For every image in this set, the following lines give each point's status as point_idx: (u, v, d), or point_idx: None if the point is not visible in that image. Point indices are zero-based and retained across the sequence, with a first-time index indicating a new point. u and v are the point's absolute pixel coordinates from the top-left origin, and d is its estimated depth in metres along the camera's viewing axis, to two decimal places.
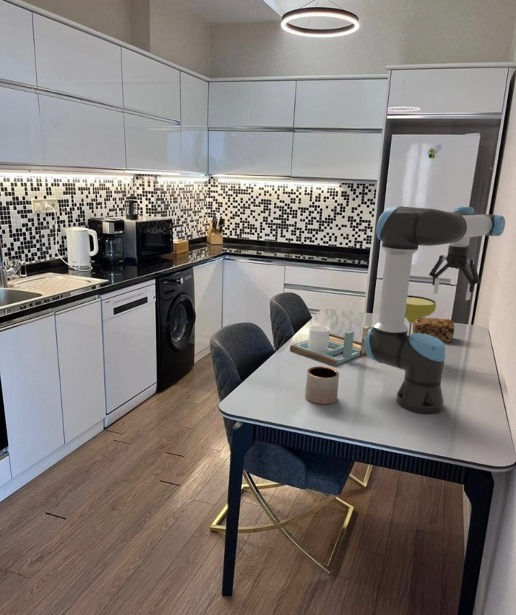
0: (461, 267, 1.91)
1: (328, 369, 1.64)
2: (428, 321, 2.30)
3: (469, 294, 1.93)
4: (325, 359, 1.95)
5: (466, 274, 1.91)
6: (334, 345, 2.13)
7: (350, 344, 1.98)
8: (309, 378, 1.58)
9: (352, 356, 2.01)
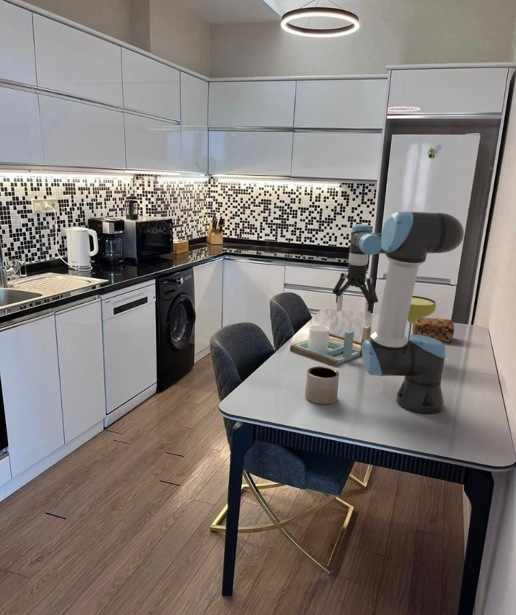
0: (359, 286, 1.88)
1: (328, 369, 1.64)
2: (428, 321, 2.30)
3: (368, 313, 1.89)
4: (325, 359, 1.95)
5: (364, 293, 1.88)
6: (334, 345, 2.13)
7: (350, 344, 1.98)
8: (309, 378, 1.58)
9: (352, 356, 2.01)
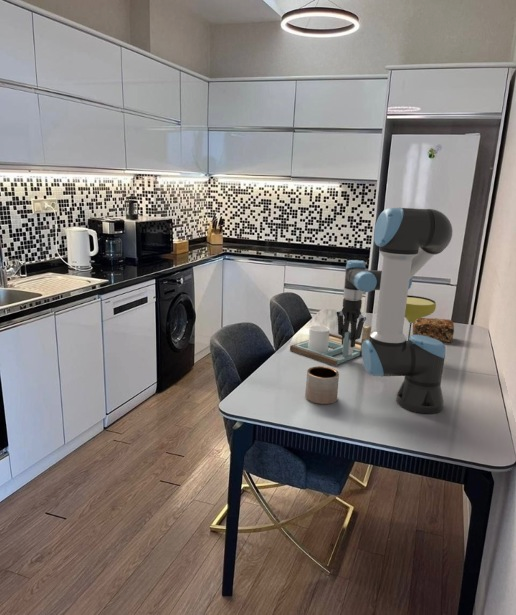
0: (351, 321, 1.93)
1: (328, 369, 1.64)
2: (428, 321, 2.30)
3: (351, 349, 1.97)
4: (325, 359, 1.95)
5: (352, 329, 1.94)
6: (334, 345, 2.13)
7: None
8: (309, 378, 1.58)
9: (352, 356, 2.01)
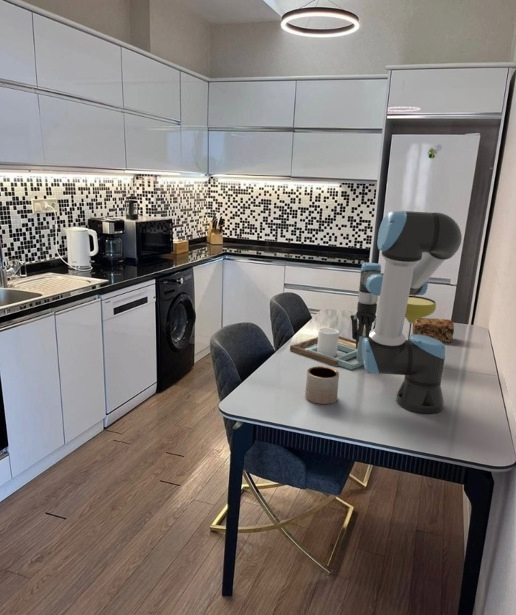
0: (366, 325, 1.89)
1: (328, 369, 1.64)
2: (428, 321, 2.30)
3: None
4: (325, 359, 1.95)
5: (366, 333, 1.90)
6: (347, 349, 2.08)
7: None
8: (309, 378, 1.58)
9: None
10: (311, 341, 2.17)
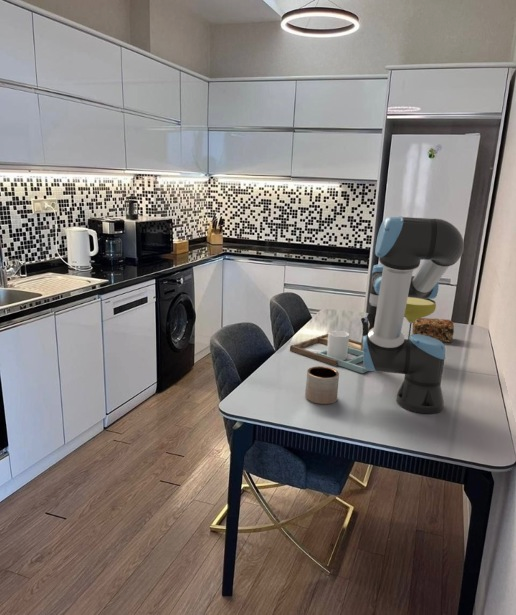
0: None
1: (328, 369, 1.64)
2: (428, 321, 2.30)
3: None
4: (325, 359, 1.95)
5: None
6: (357, 352, 2.05)
7: None
8: (309, 378, 1.58)
9: None
10: (311, 341, 2.17)
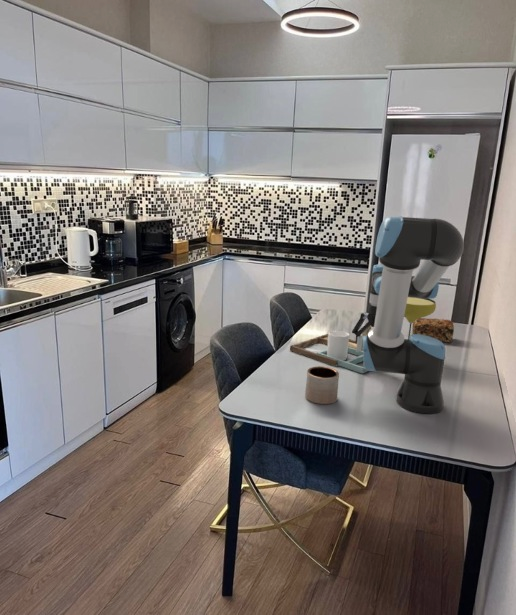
0: None
1: (328, 369, 1.64)
2: (427, 321, 2.29)
3: None
4: (325, 359, 1.95)
5: None
6: (357, 352, 2.05)
7: None
8: (309, 378, 1.58)
9: None
10: (311, 341, 2.17)
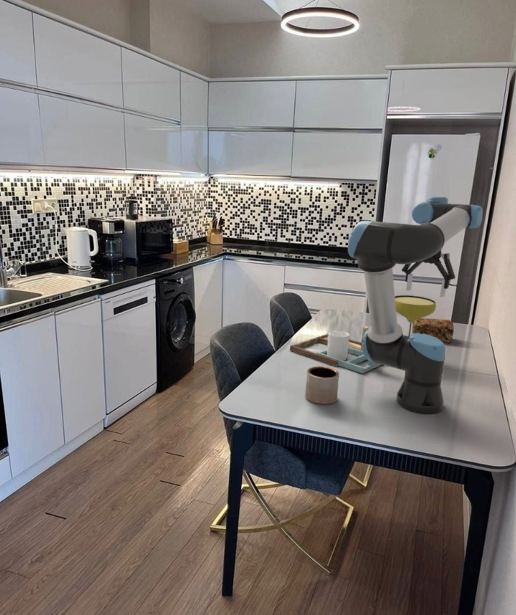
0: (435, 262, 1.78)
1: (328, 369, 1.64)
2: (427, 321, 2.29)
3: (444, 291, 1.79)
4: (325, 359, 1.95)
5: (440, 269, 1.78)
6: (357, 352, 2.05)
7: None
8: (309, 378, 1.58)
9: (377, 364, 1.93)
10: (311, 341, 2.17)
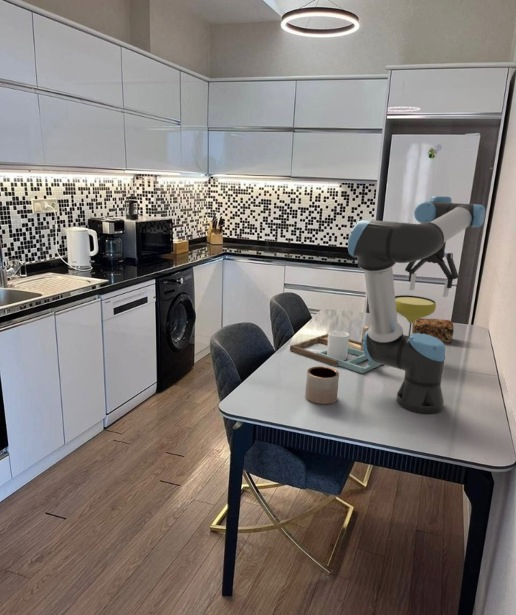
0: (438, 261, 1.78)
1: (328, 369, 1.64)
2: (427, 322, 2.29)
3: (447, 290, 1.79)
4: (325, 359, 1.95)
5: (443, 269, 1.78)
6: (357, 352, 2.05)
7: None
8: (309, 378, 1.58)
9: (377, 364, 1.93)
10: (311, 341, 2.17)
